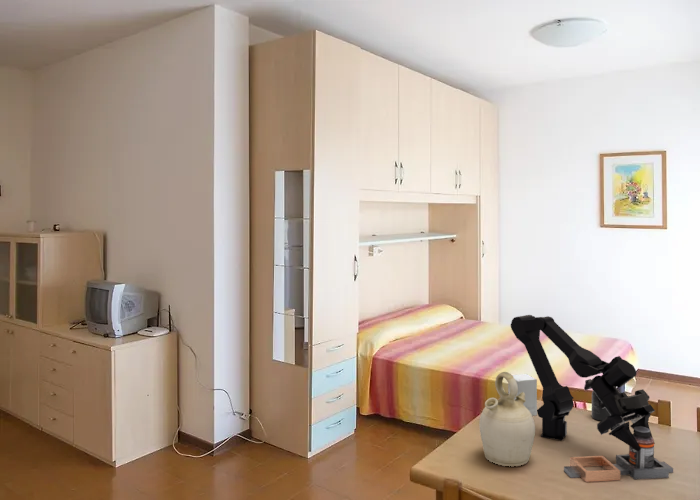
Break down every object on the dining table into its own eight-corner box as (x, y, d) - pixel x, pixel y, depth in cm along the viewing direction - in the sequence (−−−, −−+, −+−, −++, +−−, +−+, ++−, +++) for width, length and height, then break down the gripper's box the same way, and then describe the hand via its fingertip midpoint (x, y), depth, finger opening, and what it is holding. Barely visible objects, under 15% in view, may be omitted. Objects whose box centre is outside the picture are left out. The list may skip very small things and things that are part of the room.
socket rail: (574, 482, 147) (574, 473, 147) (559, 466, 156) (559, 457, 156) (679, 477, 149) (679, 467, 148) (658, 461, 158) (658, 452, 158)
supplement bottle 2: (624, 465, 156) (624, 425, 155) (644, 463, 156) (645, 423, 155) (636, 475, 150) (637, 433, 149) (658, 474, 150) (659, 432, 149)
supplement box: (537, 415, 194) (537, 379, 194) (517, 417, 193) (517, 381, 192) (527, 408, 202) (527, 373, 201) (507, 410, 200) (507, 374, 199)
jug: (492, 472, 154) (492, 382, 152) (471, 449, 169) (470, 366, 167) (545, 467, 156) (545, 378, 154) (519, 444, 171) (519, 363, 169)
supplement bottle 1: (616, 422, 186) (616, 386, 186) (593, 421, 188) (594, 386, 187) (610, 415, 193) (611, 380, 192) (589, 414, 194) (589, 379, 194)
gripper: (607, 387, 150) (647, 442, 141) (648, 375, 159) (688, 426, 151) (581, 407, 157) (617, 461, 148) (622, 394, 167) (658, 444, 158)
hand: (646, 447), depth 151 cm, fingers closed on supplement bottle 2, 6 cm apart
